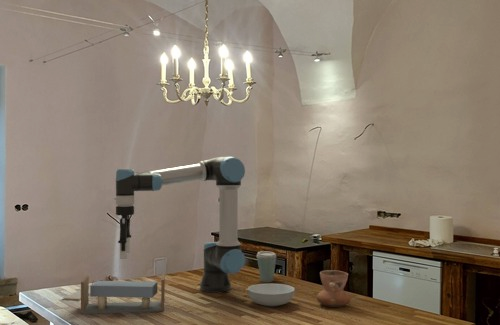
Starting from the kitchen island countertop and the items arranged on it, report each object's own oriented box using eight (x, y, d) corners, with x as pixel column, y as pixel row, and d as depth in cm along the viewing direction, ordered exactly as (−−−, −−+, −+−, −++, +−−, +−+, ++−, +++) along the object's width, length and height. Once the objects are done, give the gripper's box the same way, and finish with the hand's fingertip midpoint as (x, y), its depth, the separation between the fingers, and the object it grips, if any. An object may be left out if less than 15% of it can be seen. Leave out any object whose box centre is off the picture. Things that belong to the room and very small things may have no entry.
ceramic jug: (348, 311, 215) (349, 277, 215) (314, 308, 219) (314, 274, 219) (351, 301, 232) (352, 269, 233) (319, 298, 236) (320, 267, 236)
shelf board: (97, 291, 223) (97, 280, 223) (157, 292, 221) (157, 281, 221) (90, 296, 214) (90, 285, 214) (152, 297, 212) (152, 286, 212)
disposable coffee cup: (280, 280, 272) (280, 252, 272) (267, 284, 264) (268, 254, 264) (265, 277, 279) (265, 250, 279) (252, 281, 270) (252, 252, 271)
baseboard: (58, 300, 231) (79, 302, 230) (58, 294, 231) (79, 295, 230) (90, 285, 261) (108, 286, 259) (90, 279, 261) (109, 280, 259)
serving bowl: (299, 300, 233) (299, 284, 233) (287, 312, 213) (287, 296, 213) (256, 296, 240) (256, 281, 240) (240, 307, 220) (240, 291, 220)
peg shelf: (85, 306, 221) (85, 275, 221) (164, 303, 226) (164, 273, 226) (80, 314, 209) (80, 282, 209) (164, 311, 214) (164, 279, 214)
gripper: (118, 203, 229) (118, 251, 229) (112, 208, 205) (112, 261, 205) (136, 203, 230) (136, 250, 230) (131, 207, 206) (131, 261, 206)
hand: (124, 255), depth 218 cm, fingers open, 13 cm apart
